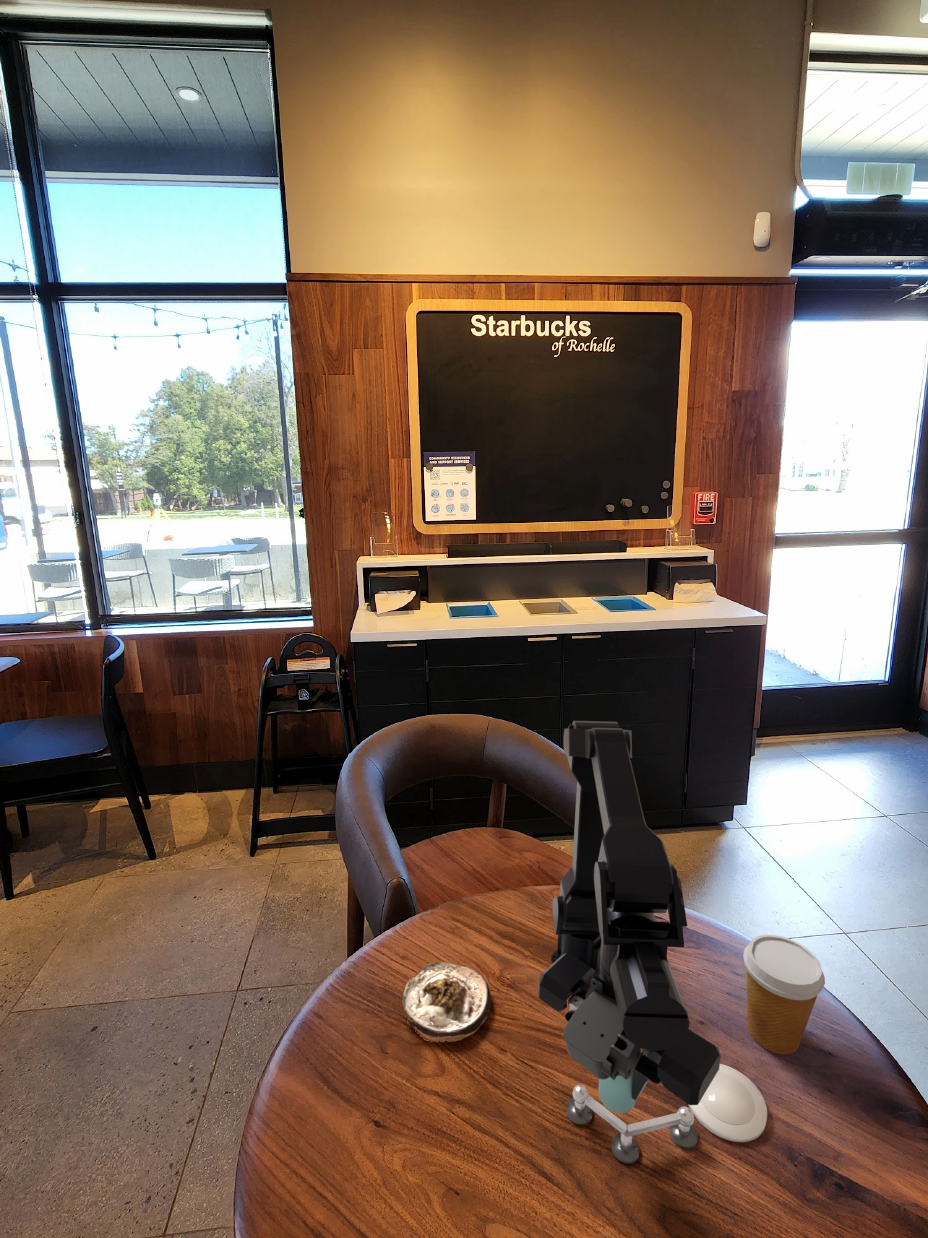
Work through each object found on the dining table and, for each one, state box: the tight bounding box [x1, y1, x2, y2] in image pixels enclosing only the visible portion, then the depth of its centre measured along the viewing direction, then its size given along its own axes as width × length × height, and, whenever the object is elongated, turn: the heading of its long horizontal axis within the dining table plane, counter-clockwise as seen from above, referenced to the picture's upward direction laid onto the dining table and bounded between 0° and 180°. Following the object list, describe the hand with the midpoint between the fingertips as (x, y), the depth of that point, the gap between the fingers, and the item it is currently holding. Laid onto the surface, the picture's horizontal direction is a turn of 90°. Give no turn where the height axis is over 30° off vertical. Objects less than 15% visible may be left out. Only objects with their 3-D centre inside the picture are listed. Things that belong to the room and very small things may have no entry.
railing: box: [566, 1084, 698, 1165], centre depth 72 cm, size 13×9×4 cm
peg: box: [597, 1070, 636, 1114], centre depth 68 cm, size 4×4×7 cm
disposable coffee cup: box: [742, 934, 826, 1056], centre depth 83 cm, size 10×10×12 cm
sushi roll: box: [401, 962, 492, 1043], centre depth 88 cm, size 15×15×4 cm
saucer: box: [687, 1063, 768, 1143], centre depth 75 cm, size 9×9×1 cm
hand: (617, 1083), depth 69 cm, fingers closed on peg, 4 cm apart
